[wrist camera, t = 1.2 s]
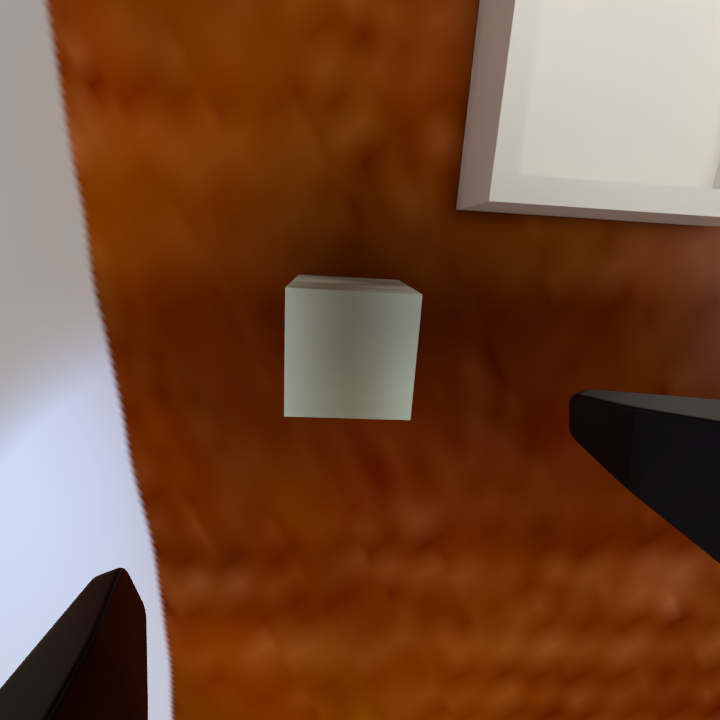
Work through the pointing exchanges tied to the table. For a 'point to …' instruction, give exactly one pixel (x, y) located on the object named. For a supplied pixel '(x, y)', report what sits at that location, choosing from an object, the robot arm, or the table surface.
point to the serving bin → (595, 110)
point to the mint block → (350, 347)
